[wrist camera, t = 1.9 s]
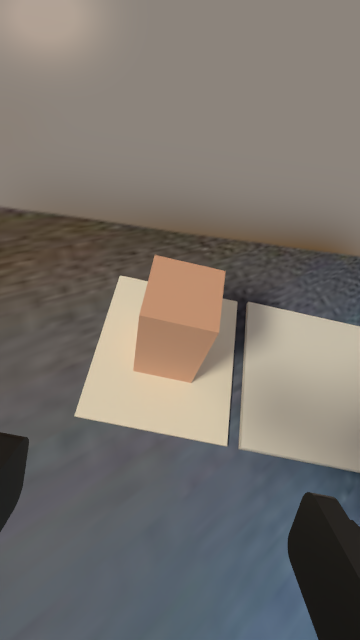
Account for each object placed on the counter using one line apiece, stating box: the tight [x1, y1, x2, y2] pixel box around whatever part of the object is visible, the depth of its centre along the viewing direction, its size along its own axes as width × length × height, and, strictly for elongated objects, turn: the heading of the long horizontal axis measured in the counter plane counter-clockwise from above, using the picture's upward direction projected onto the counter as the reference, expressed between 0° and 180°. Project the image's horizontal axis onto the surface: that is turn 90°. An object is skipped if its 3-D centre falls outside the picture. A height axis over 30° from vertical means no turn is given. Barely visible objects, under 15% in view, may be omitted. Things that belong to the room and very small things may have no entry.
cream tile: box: [75, 275, 237, 446], centre depth 29 cm, size 12×14×1 cm
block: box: [133, 255, 225, 383], centre depth 25 cm, size 5×5×9 cm
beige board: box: [239, 302, 360, 473], centre depth 30 cm, size 12×14×1 cm
